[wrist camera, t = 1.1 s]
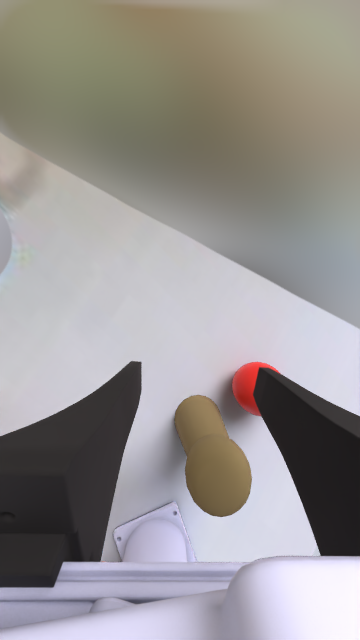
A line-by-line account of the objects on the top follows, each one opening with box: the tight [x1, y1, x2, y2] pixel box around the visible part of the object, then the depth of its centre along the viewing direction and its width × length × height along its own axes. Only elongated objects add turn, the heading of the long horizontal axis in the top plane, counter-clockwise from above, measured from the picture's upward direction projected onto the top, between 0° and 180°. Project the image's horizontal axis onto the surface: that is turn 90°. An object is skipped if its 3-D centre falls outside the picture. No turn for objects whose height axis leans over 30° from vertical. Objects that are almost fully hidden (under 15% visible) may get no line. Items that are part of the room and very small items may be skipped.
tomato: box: [232, 362, 279, 416], centre depth 22 cm, size 6×6×7 cm
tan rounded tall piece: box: [174, 395, 252, 517], centre depth 19 cm, size 6×6×11 cm
